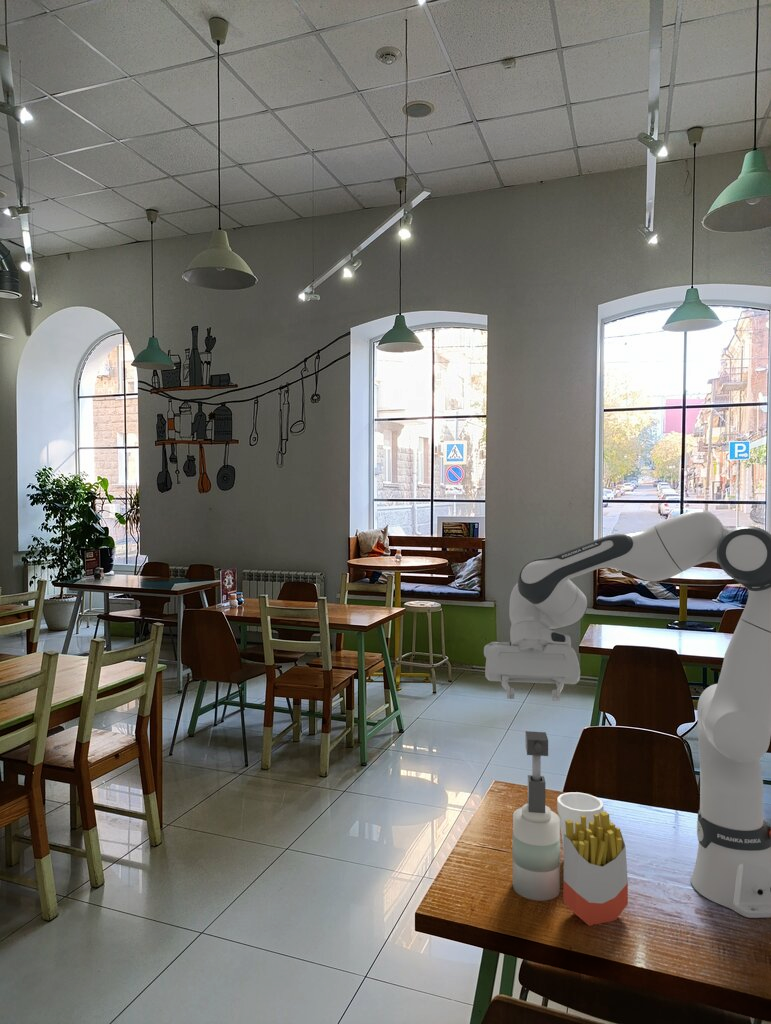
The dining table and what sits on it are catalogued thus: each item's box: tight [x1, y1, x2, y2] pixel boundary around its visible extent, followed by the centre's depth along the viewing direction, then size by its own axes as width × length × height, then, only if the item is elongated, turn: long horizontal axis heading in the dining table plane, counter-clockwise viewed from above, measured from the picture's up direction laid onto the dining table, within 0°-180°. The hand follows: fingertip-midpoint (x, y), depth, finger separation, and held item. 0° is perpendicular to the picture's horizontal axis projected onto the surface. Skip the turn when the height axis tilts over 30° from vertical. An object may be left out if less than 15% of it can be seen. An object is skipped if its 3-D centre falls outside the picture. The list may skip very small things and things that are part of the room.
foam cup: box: [556, 791, 604, 852], centre depth 141 cm, size 10×9×13 cm
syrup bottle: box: [511, 774, 561, 902], centre depth 131 cm, size 9×9×22 cm
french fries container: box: [563, 810, 629, 926], centre depth 122 cm, size 5×11×18 cm, turn 107°
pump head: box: [524, 730, 549, 781], centre depth 130 cm, size 4×9×9 cm, turn 172°
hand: (533, 698), depth 140 cm, fingers open, 8 cm apart
